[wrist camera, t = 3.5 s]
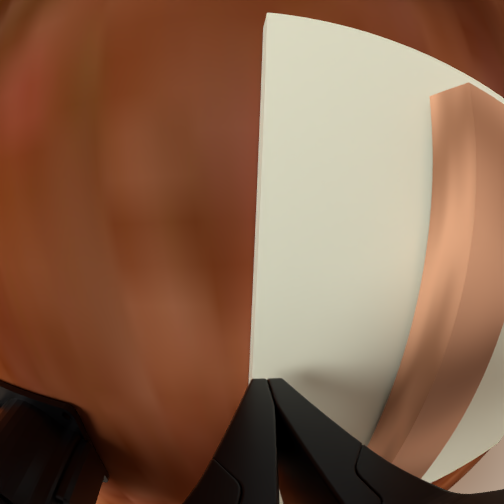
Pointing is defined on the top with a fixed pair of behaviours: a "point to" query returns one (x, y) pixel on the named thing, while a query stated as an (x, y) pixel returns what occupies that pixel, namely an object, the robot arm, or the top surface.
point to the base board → (350, 225)
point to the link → (452, 283)
